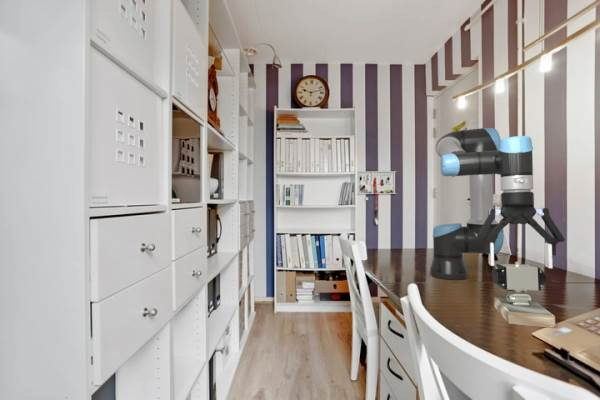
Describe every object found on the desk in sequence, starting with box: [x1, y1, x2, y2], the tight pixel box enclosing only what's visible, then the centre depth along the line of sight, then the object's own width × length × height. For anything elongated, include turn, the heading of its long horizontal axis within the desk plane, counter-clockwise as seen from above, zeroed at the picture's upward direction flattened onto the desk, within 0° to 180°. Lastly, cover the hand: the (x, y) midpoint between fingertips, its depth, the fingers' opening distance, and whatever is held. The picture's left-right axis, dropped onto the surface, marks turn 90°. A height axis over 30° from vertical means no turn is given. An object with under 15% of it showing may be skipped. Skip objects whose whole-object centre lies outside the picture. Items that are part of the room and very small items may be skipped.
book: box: [493, 296, 556, 328], centre depth 83 cm, size 14×10×3 cm
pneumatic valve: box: [491, 261, 547, 306], centre depth 84 cm, size 6×12×12 cm, turn 78°
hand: (519, 266), depth 84 cm, fingers open, 13 cm apart
